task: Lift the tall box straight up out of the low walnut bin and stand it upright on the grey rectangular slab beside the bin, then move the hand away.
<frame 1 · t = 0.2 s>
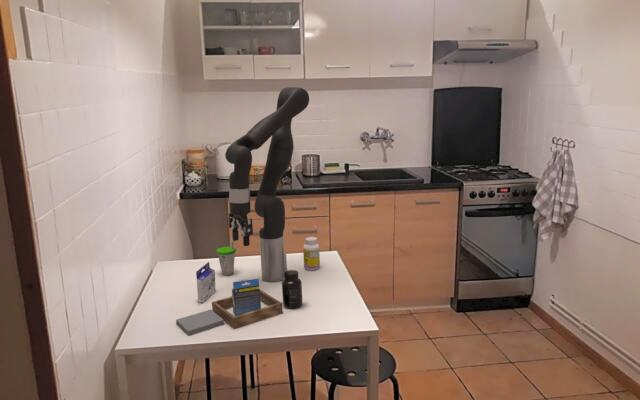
hand: (240, 242, 187), 18 cm above the table, tool pointing down, fingers open, 8 cm apart
supplement bottle 2: (312, 268, 209), on the table
bin: (247, 312, 170), on the table
grey rectangular slab: (200, 324, 163), on the table
supplement bottle: (292, 305, 175), on the table
ink box: (207, 297, 184), on the table
cup: (227, 274, 206), on the table
blue product box: (247, 312, 170), resting in bin
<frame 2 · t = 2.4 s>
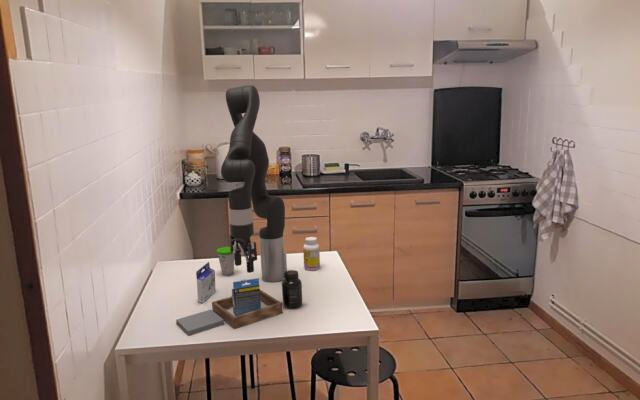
hand: (244, 268, 167), 16 cm above the table, tool pointing down, fingers open, 8 cm apart
nothing on the table moved.
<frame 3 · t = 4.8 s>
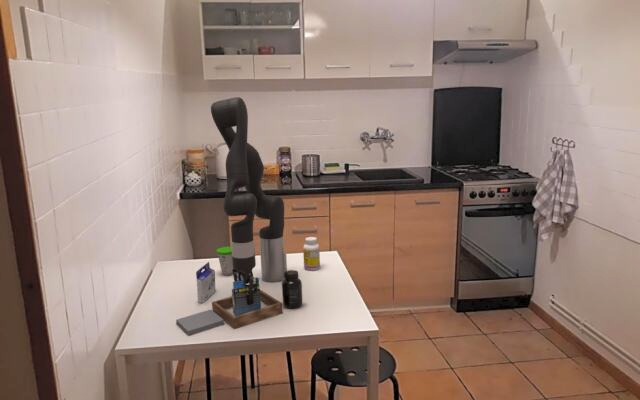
hand: (246, 301, 169), 4 cm above the table, tool pointing down, fingers closed on blue product box, 4 cm apart
blue product box: (247, 312, 170), resting in bin, touching gripper
everything else where it was.
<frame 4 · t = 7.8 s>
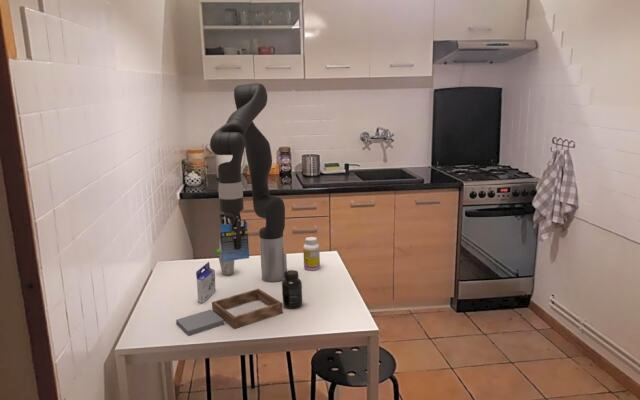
hand: (234, 247, 163), 24 cm above the table, tool pointing down, fingers closed on blue product box, 4 cm apart
blue product box: (234, 259, 164), point 20 cm above the table, touching gripper
everything else where it was.
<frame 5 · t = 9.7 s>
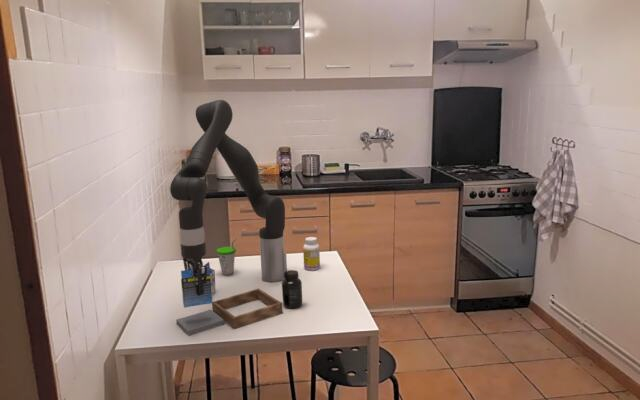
hand: (196, 292, 160), 11 cm above the table, tool pointing down, fingers closed on blue product box, 4 cm apart
blue product box: (197, 304, 161), point 7 cm above the table, touching gripper
everything else where it was.
when the fingers open (6 cm above the table, at t = 11.0 s): blue product box stays where it is, resting on grey rectangular slab.
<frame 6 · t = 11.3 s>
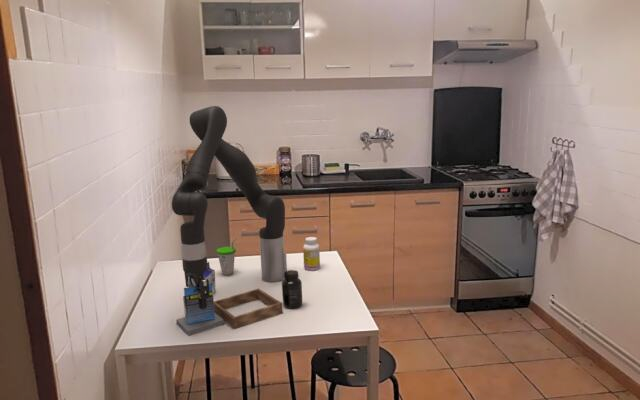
hand: (198, 304, 161), 7 cm above the table, tool pointing down, fingers open, 6 cm apart
blue product box: (200, 320, 162), point 1 cm above the table, touching grey rectangular slab
everything else where it was.
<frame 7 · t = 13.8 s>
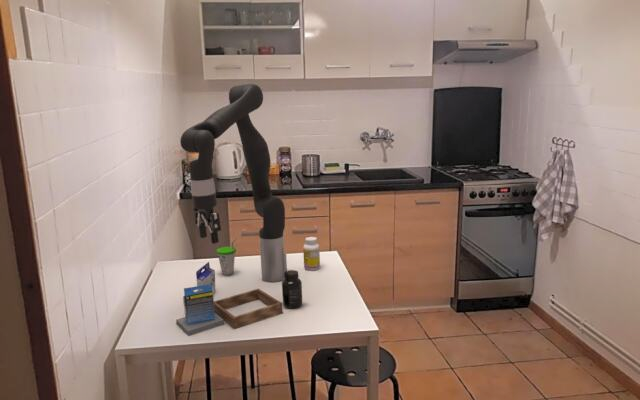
hand: (209, 240, 166), 25 cm above the table, tool pointing down, fingers open, 8 cm apart
nothing on the table moved.
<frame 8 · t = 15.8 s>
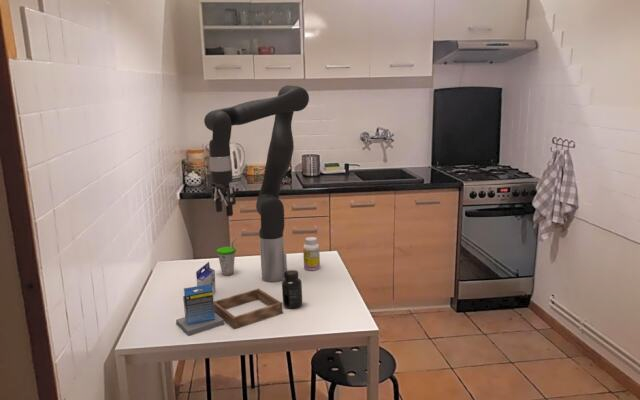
hand: (224, 213, 180), 30 cm above the table, tool pointing down, fingers open, 8 cm apart
nothing on the table moved.
at the end: blue product box inside the target area on the grey rectangular slab (0.2 cm from its centre), point 1.3 cm above the grey rectangular slab's base; blue product box tilted 0°; the gripper is holding nothing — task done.
